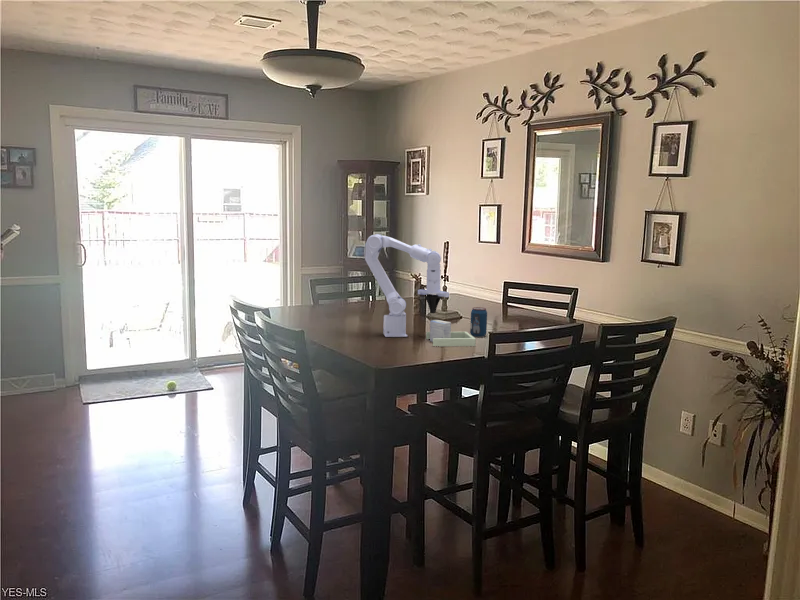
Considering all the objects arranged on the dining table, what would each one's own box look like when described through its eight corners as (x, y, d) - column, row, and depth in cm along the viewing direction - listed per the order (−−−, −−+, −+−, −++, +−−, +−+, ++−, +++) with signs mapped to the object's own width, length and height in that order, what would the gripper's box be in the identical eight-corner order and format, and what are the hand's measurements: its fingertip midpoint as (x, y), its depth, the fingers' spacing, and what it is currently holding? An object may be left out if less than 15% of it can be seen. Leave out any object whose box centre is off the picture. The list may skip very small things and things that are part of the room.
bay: (433, 346, 250) (433, 339, 249) (426, 338, 264) (426, 331, 263) (475, 346, 252) (475, 338, 252) (466, 338, 267) (466, 331, 266)
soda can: (483, 334, 277) (484, 307, 276) (488, 337, 270) (489, 309, 269) (468, 334, 276) (469, 307, 274) (472, 337, 269) (473, 309, 268)
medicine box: (450, 343, 257) (451, 322, 255) (443, 344, 254) (443, 323, 252) (436, 340, 262) (437, 319, 261) (429, 341, 259) (429, 320, 258)
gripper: (413, 280, 266) (413, 312, 268) (442, 282, 257) (442, 315, 259) (423, 278, 271) (422, 310, 273) (452, 281, 263) (451, 313, 265)
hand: (432, 312), depth 266 cm, fingers closed
